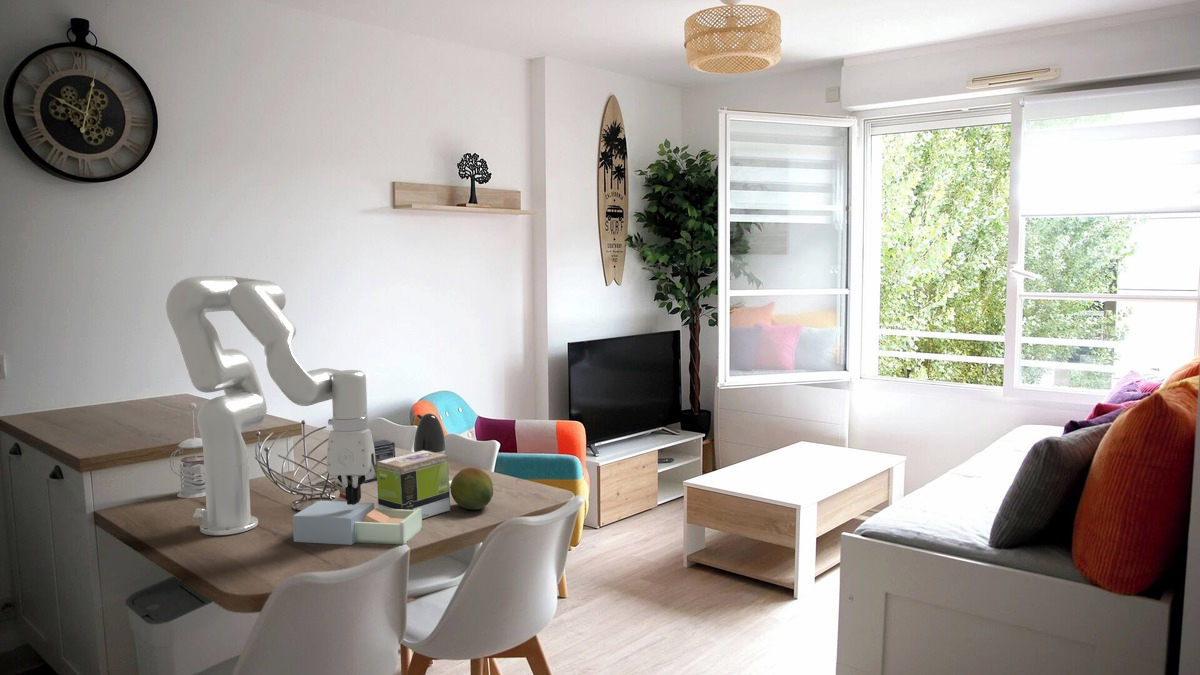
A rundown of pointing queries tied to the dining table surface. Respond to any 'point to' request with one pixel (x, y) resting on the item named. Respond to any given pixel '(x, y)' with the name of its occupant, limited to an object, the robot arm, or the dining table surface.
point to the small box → (382, 453)
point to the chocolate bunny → (342, 492)
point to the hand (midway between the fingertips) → (353, 502)
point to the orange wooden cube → (376, 517)
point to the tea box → (414, 483)
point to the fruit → (472, 488)
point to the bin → (390, 527)
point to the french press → (191, 468)
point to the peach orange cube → (394, 520)
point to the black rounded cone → (429, 435)
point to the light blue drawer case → (329, 522)
